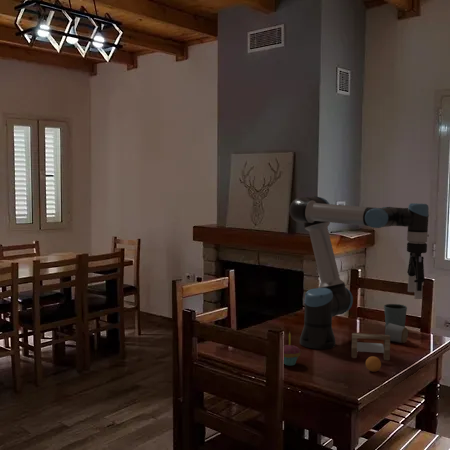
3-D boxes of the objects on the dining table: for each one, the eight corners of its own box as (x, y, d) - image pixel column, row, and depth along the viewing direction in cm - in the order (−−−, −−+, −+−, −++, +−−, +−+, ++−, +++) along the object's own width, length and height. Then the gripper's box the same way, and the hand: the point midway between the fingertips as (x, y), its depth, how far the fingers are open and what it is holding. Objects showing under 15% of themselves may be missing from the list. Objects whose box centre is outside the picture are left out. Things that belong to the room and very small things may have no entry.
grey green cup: (410, 332, 254) (411, 307, 253) (396, 335, 249) (396, 309, 248) (393, 327, 263) (393, 302, 262) (378, 330, 257) (379, 305, 256)
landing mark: (352, 351, 224) (352, 350, 224) (351, 342, 237) (351, 341, 237) (385, 353, 221) (385, 352, 221) (382, 344, 234) (382, 343, 234)
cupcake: (277, 359, 211) (278, 329, 211) (299, 360, 211) (300, 330, 210) (279, 367, 203) (279, 335, 202) (301, 367, 203) (302, 336, 202)
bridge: (389, 360, 212) (390, 337, 212) (351, 357, 215) (352, 334, 215) (388, 357, 215) (389, 335, 215) (351, 355, 218) (351, 332, 217)
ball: (365, 373, 197) (366, 358, 197) (364, 368, 203) (365, 353, 202) (381, 374, 196) (382, 359, 196) (380, 369, 202) (380, 354, 201)
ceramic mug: (402, 345, 233) (403, 327, 232) (384, 342, 238) (384, 324, 237) (410, 340, 241) (411, 323, 241) (392, 337, 246) (393, 320, 246)
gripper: (434, 246, 202) (431, 302, 204) (420, 239, 227) (417, 289, 228) (413, 245, 203) (411, 301, 205) (401, 238, 228) (399, 288, 229)
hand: (414, 295), depth 217 cm, fingers open, 13 cm apart
